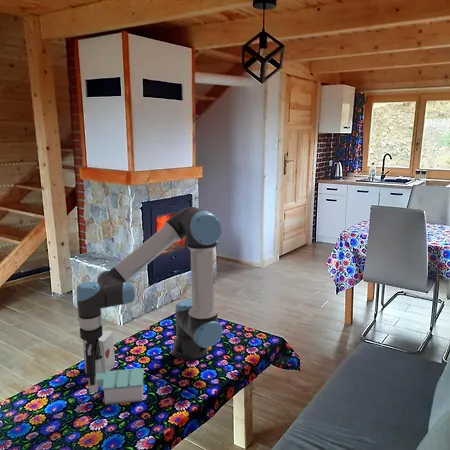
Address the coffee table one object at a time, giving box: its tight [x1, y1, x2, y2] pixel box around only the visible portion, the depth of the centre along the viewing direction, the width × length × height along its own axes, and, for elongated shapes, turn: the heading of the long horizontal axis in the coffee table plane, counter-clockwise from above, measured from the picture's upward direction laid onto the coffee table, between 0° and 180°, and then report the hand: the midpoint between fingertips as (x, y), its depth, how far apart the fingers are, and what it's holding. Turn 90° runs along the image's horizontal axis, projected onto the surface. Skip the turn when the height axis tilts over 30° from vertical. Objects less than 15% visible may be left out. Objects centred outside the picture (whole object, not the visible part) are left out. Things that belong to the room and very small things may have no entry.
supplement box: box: [82, 329, 116, 374], centre depth 170 cm, size 9×9×15 cm
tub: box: [103, 386, 144, 406], centre depth 154 cm, size 13×10×6 cm
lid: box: [96, 367, 145, 391], centre depth 153 cm, size 19×11×3 cm, turn 99°
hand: (95, 383), depth 152 cm, fingers open, 9 cm apart
